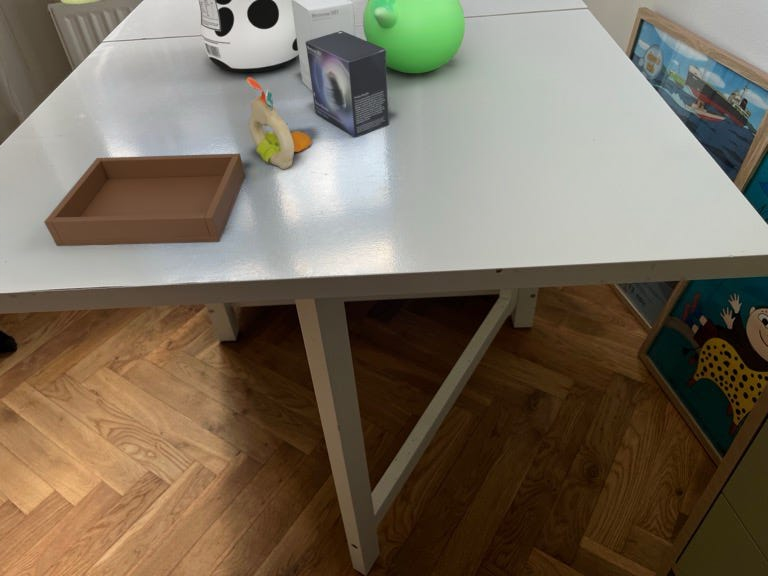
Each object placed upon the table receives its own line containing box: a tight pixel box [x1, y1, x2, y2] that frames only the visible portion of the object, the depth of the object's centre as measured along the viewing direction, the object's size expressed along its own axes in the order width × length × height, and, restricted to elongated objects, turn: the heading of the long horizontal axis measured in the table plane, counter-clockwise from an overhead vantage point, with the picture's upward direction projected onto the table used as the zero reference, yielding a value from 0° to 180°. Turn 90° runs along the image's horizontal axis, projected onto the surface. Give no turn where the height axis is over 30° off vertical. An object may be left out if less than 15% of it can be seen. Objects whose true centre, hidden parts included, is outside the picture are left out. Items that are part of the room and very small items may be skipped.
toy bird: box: [362, 0, 466, 74], centre depth 88 cm, size 18×17×15 cm
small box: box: [305, 31, 390, 138], centre depth 76 cm, size 11×6×10 cm, turn 37°
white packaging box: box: [291, 0, 357, 93], centre depth 85 cm, size 7×7×13 cm
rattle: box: [246, 76, 312, 170], centre depth 68 cm, size 8×8×12 cm
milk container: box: [198, 0, 299, 73], centre depth 93 cm, size 17×17×18 cm
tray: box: [43, 153, 246, 247], centre depth 63 cm, size 18×14×3 cm
